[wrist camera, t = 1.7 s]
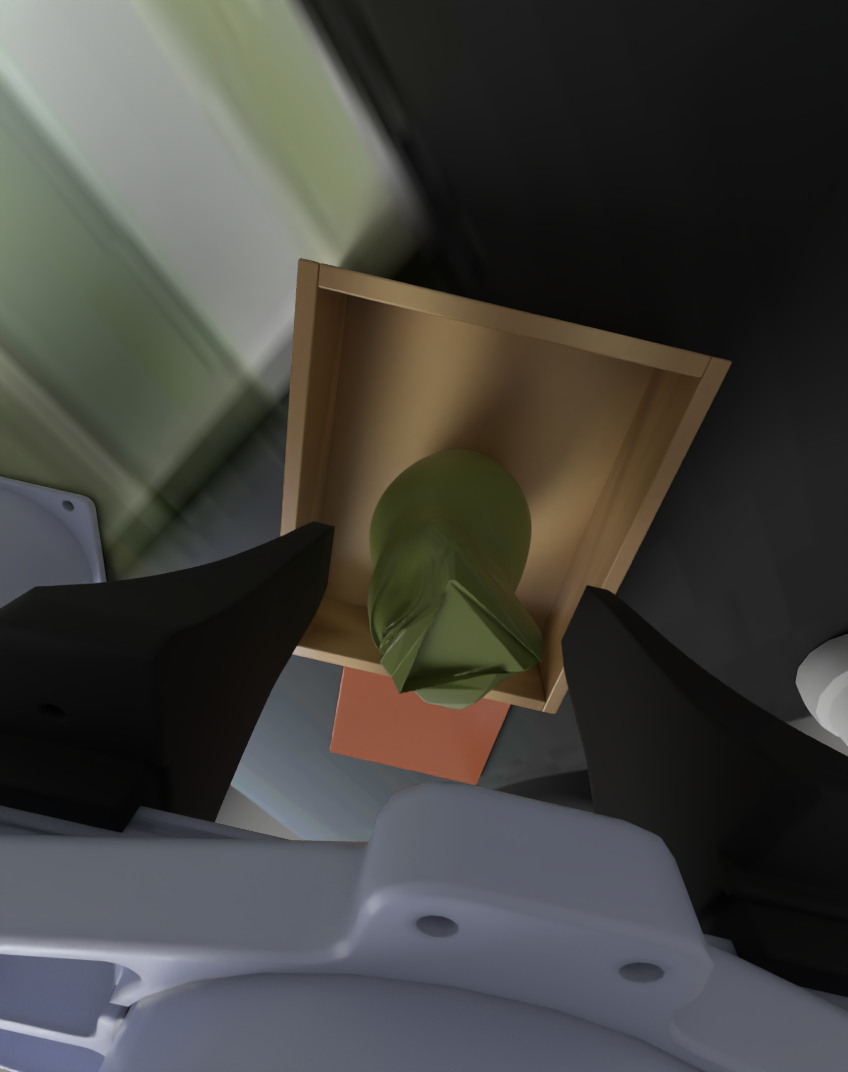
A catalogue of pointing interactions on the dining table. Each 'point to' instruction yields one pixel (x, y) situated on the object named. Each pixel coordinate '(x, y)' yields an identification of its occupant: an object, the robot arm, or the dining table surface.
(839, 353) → the dining table surface
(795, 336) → the dining table surface
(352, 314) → the wooden shallow box
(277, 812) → the dining table surface
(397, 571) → the pear
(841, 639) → the bottle
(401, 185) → the dining table surface
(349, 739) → the coaster
